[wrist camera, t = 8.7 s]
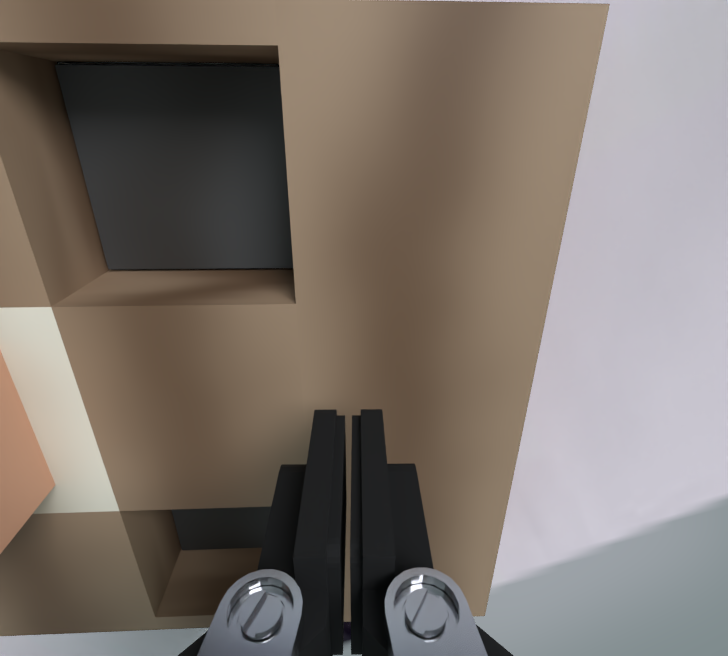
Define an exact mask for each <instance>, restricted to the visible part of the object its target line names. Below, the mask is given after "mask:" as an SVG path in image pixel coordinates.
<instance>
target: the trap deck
mask: <svg viewBox="0 0 728 656" xmlns="http://www.w3.org/2000/svg"><path fill="white" fill-rule="evenodd" d="M609 5H610V4H585V3H523V2H462V1H400V0H0V350H1V353H2V355H3V358H4V360H5V363H6V365H7V367H8V370H9V372H10V375H11V377H12V380H13V382H14V384H15V387H16V389H17V392H18V394H19V397H20V399H21V402H22V404H23V406H24V409H25V411H26V414H27V416H28V419H29V421H30V423H31V426H32V428H33V431H34V433H35V436H36V438H37V441H38V443H39V445H40V448H41V450H42V453H43V455H44V458H45V460H46V463H47V465H48V467H49V470H50V472H51V475H52V477H53V480H54V482H55V484H56V485H55V486H54V487H53V489H52V490H51V491H50V492H49V494H48V495H47V496H46V497H45V499H44V500H43V501H42V502H41V504H40V505H39V506H38V507H37V509H36V510H35V511H34V512H33V514H32V515H31V516H30V517H29V519H28V520H27V521H26V523H25V524H24V525H23V526H22V528H21V529H20V530H19V531H18V533H17V534H16V535H15V536H14V538H13V539H12V540H11V541H10V543H9V544H8V545H7V546H6V548H5V549H4V550H3V551H2V553H1V554H0V636H17V635H41V634H64V633H88V632H112V631H136V630H160V629H184V628H208V627H210V625H211V622H212V620H213V618H214V616H215V613H216V611H217V609H218V606H219V604H220V602H221V600H222V599H223V597H224V595H225V594H226V592H227V590H228V589H229V588H230V587H231V586H232V585H233V584H234V583H235V582H236V581H237V580H239V579H240V578H242V577H244V576H245V575H247V574H249V573H252V572H255V571H257V569H258V564H259V560H260V555H261V551H262V546H263V542H264V537H265V533H266V528H267V523H268V519H269V514H270V510H271V505H272V501H273V496H274V492H275V487H276V483H277V478H278V474H279V470H280V467H281V465H282V464H307V458H308V451H309V444H310V437H311V430H312V423H313V416H314V410H329V409H336V410H337V415H345V433H346V490H347V509H346V548H345V588H344V622H351V594H350V518H351V450H352V415H361V409H382V412H383V422H384V433H385V445H386V456H387V464H403V463H415V466H416V470H417V475H418V481H419V487H420V493H421V499H422V504H423V510H424V516H425V522H426V528H427V533H428V539H429V545H430V551H431V556H432V562H433V568H434V570H438V571H440V572H442V573H443V574H445V575H447V576H448V577H450V578H451V579H452V580H453V581H454V582H455V583H456V584H457V585H458V586H459V587H460V589H461V591H462V592H463V594H464V596H465V598H466V600H467V603H468V605H469V608H470V610H471V613H472V616H485V612H486V607H487V602H488V597H489V593H490V588H491V583H492V578H493V573H494V568H495V563H496V558H497V553H498V548H499V544H500V539H501V534H502V529H503V524H504V519H505V514H506V509H507V504H508V499H509V495H510V490H511V485H512V480H513V475H514V470H515V465H516V460H517V455H518V451H519V446H520V441H521V436H522V431H523V426H524V421H525V416H526V411H527V406H528V402H529V397H530V392H531V387H532V382H533V377H534V372H535V367H536V362H537V357H538V353H539V348H540V343H541V338H542V333H543V328H544V323H545V318H546V313H547V309H548V304H549V299H550V294H551V289H552V284H553V279H554V274H555V269H556V264H557V260H558V255H559V250H560V245H561V240H562V235H563V230H564V225H565V220H566V215H567V211H568V206H569V201H570V196H571V191H572V186H573V181H574V176H575V171H576V167H577V162H578V157H579V152H580V147H581V142H582V137H583V132H584V127H585V122H586V118H587V113H588V108H589V103H590V98H591V93H592V88H593V83H594V78H595V73H596V69H597V64H598V59H599V54H600V49H601V44H602V39H603V34H604V29H605V25H606V20H607V15H608V10H609ZM57 62H140V63H238V64H279V67H222V66H120V65H57ZM208 268H227V269H208ZM111 269H113V270H111Z"/></svg>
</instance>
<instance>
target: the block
mask: <svg viewBox="0 0 728 656" xmlns="http://www.w3.org/2000/svg"><path fill="white" fill-rule="evenodd" d="M55 485H56V484H55V482H54V480H53V477H52V475H51V472H50V470H49V467H48V465H47V463H46V460H45V458H44V455H43V453H42V450H41V448H40V445H39V443H38V441H37V438H36V436H35V433H34V431H33V428H32V426H31V423H30V421H29V419H28V416H27V414H26V411H25V409H24V406H23V404H22V402H21V399H20V397H19V394H18V392H17V389H16V387H15V384H14V382H13V380H12V377H11V375H10V372H9V370H8V367H7V365H6V363H5V360H4V358H3V355H2V353H1V350H0V554H1V553H2V551H3V550H4V549H5V548H6V546H7V545H8V544H9V543H10V541H11V540H12V539H13V538H14V536H15V535H16V534H17V533H18V531H19V530H20V529H21V528H22V526H23V525H24V524H25V523H26V521H27V520H28V519H29V517H30V516H31V515H32V514H33V512H34V511H35V510H36V509H37V507H38V506H39V505H40V504H41V502H42V501H43V500H44V499H45V497H46V496H47V495H48V494H49V492H50V491H51V490H52V489H53V487H54V486H55Z"/></svg>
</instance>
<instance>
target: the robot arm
mask: <svg viewBox="0 0 728 656" xmlns="http://www.w3.org/2000/svg"><path fill="white" fill-rule="evenodd" d="M346 509H347V490H346V433H345V415H337V410H336V409H329V410H314V416H313V423H312V430H311V437H310V444H309V451H308V458H307V464H282V465H281V467H280V470H279V474H278V478H277V483H276V487H275V492H274V496H273V501H272V505H271V510H270V514H269V519H268V523H267V528H266V533H265V537H264V542H263V546H262V551H261V555H260V560H259V564H258V569H257V571H255V572H252V573H249V574H247V575H245V576H244V577H242V578H240V579H239V580H237V581H236V582H235V583H234V584H233V585H232V586H231V587H230V588H229V589H228V590H227V592H226V594H225V595H224V597H223V599H222V600H221V602H220V604H219V606H218V609H217V611H216V613H215V616H214V618H213V620H212V622H211V625H210V627H209V629H208V631H207V632H206V633H205V634H204V635H202V636H201V637H200V638H199V639H198V640H196V641H195V642H194V643H193V644H191V645H190V646H189V647H188V648H187V649H185V650H184V651H183V652H182V653H180V654H179V655H178V656H333V655H342V654H343V627H344V588H345V548H346ZM350 594H351V654H362V656H513V655H512V654H511V653H510V652H508V651H507V650H506V649H505V648H504V647H502V646H501V645H500V644H499V643H497V642H496V641H495V640H494V639H493V638H491V637H490V636H489V635H488V634H487V633H486V632H484V631H483V630H482V629H481V628H480V627H478V626H477V625H476V624H475V621H474V619H473V616H472V613H471V610H470V608H469V605H468V603H467V600H466V598H465V596H464V594H463V592H462V591H461V589H460V587H459V586H458V585H457V584H456V583H455V582H454V581H453V580H452V579H451V578H450V577H448V576H447V575H445V574H443V573H442V572H440V571H438V570H434V568H433V562H432V556H431V551H430V545H429V539H428V533H427V528H426V522H425V516H424V510H423V504H422V499H421V493H420V487H419V481H418V475H417V470H416V466H415V463H403V464H387V456H386V445H385V433H384V422H383V412H382V409H361V415H352V450H351V518H350Z"/></svg>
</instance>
